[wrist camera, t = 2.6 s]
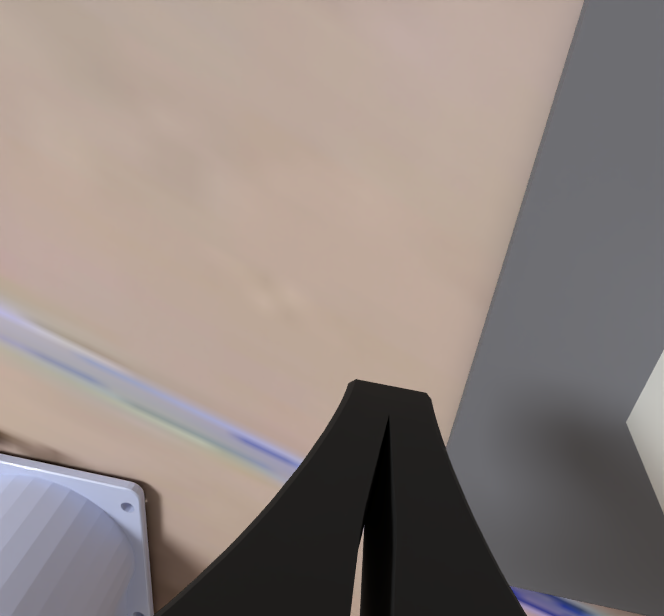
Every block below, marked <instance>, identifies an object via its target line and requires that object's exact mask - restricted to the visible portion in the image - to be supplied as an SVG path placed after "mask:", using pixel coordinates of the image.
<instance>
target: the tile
mask: <svg viewBox="0 0 664 616" xmlns="http://www.w3.org/2000/svg"><path fill="white" fill-rule="evenodd" d="M626 424H627V426H628V428H629V431H630V433H631V436H632V438H633V441H634V443H635V445H636V448H637V450H638V453H639V455H640V458H641V460H642V462H643V465H644V467H645V470H646V472H647V475H648V477H649V479H650V482H651V484H652V487H653V489H654V492H655V494H656V496H657V499H658V501H659V504H660V506H661V508H662V511H663V513H664V350H663V352H662V354H661V356H660V358H659V360H658V362H657V364H656V366H655V368H654V370H653V371H652V373H651V375H650V377H649V379H648V381H647V383H646V385H645V387H644V389H643V391H642V393H641V394H640V396H639V398H638V400H637V402H636V404H635V406H634V408H633V410H632V412H631V414H630V416H629V417H628V419H627V421H626Z"/></svg>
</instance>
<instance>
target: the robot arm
mask: <svg viewBox="0 0 664 616" xmlns="http://www.w3.org/2000/svg"><path fill="white" fill-rule="evenodd" d="M363 528H364V542H363V562H362V583H361V604H360V616H527V615H526V614H525V612H524V610H523V608H522V607H521V605H520V603H519V601H518V600H517V598H516V596H515V595H514V593H513V591H512V589H511V588H510V586H509V584H508V582H507V581H506V579H505V577H504V575H503V573H502V571H501V570H500V568H499V566H498V564H497V562H496V560H495V558H494V556H493V554H492V552H491V551H490V549H489V546H488V544H487V542H486V540H485V538H484V536H483V534H482V532H481V530H480V528H479V526H478V524H477V522H476V520H475V518H474V516H473V513H472V511H471V509H470V507H469V505H468V502H467V500H466V498H465V495H464V493H463V490H462V488H461V486H460V483H459V481H458V479H457V476H456V474H455V471H454V469H453V466H452V464H451V461H450V459H449V456H448V453H447V450H446V448H445V445H444V442H443V439H442V436H441V433H440V430H439V427H438V424H437V420H436V417H435V413H434V409H433V405H432V401H431V399H430V397H429V396H428V394H427V393H424V392H419V391H414V390H409V389H403V388H398V387H393V386H388V385H383V384H378V383H372V382H367V381H362V380H357V379H356V380H354V381H352V382H350V383H348V386H347V389H346V392H345V394H344V396H343V399H342V401H341V403H340V405H339V407H338V408H337V410H336V412H335V414H334V416H333V417H332V419H331V420H330V422H329V424H328V425H327V427H326V429H325V430H324V432H323V433H322V435H321V436H320V438H319V439H318V440H317V442H316V443H315V445H314V446H313V448H312V449H311V450H310V452H309V453H308V455H307V456H306V458H305V459H304V460H303V462H302V463H301V464H300V466H299V467H298V468H297V470H296V471H295V472H294V473H293V475H292V476H291V477H290V478H289V479H288V481H287V482H286V483H285V484H284V486H283V487H282V488H281V489H280V491H279V492H278V493H277V494H276V496H275V497H274V498H273V499H272V500H271V502H270V503H269V504H268V505H267V506H266V507H265V508H264V510H263V511H262V512H261V513H260V514H259V515H258V516H257V517H256V519H255V520H254V521H253V522H252V523H251V524H250V525H249V526H248V527H247V528H246V529H245V530H244V531H243V532H242V533H241V535H240V536H239V537H238V538H237V539H236V540H235V541H234V542H233V543H232V544H231V545H230V546H229V547H228V548H227V549H226V550H225V551H224V552H223V553H222V554H221V555H220V556H219V557H218V558H217V559H216V560H214V561H213V562H212V563H211V564H210V565H209V566H208V567H207V568H206V569H205V570H204V571H203V572H202V573H201V574H200V575H199V576H198V577H197V578H196V579H195V580H194V581H192V582H191V583H190V584H189V585H188V586H187V587H186V588H185V589H184V590H183V591H181V592H180V593H179V594H178V595H177V596H176V597H175V598H174V599H172V600H171V601H170V602H169V603H168V604H167V605H165V606H164V607H163V608H162V609H161V610H159V611H158V612H157V613H156V614H154V610H153V598H152V585H151V573H150V560H149V548H148V536H147V523H146V511H145V498H144V492H143V489H142V488H141V487H140V486H139V485H138V484H136V483H134V482H131V481H126V480H122V479H117V478H113V477H108V476H103V475H99V474H94V473H89V472H85V471H80V470H75V469H71V468H66V467H61V466H57V465H52V464H47V463H43V462H38V461H33V460H29V459H24V458H19V457H15V456H10V455H5V454H1V453H0V616H350V612H351V604H352V595H353V587H354V579H355V571H356V563H357V555H358V549H359V545H360V540H361V536H362V532H363Z"/></svg>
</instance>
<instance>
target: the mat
mask: <svg viewBox="0 0 664 616" xmlns="http://www.w3.org/2000/svg"><path fill="white" fill-rule="evenodd" d="M663 350H664V0H585V1H584V4H583V7H582V10H581V14H580V17H579V20H578V23H577V27H576V30H575V33H574V36H573V39H572V43H571V46H570V49H569V52H568V56H567V59H566V62H565V65H564V69H563V72H562V75H561V78H560V81H559V85H558V88H557V91H556V94H555V98H554V101H553V104H552V107H551V111H550V114H549V117H548V120H547V123H546V127H545V130H544V133H543V136H542V140H541V143H540V146H539V149H538V153H537V156H536V159H535V162H534V166H533V169H532V172H531V175H530V178H529V182H528V185H527V188H526V191H525V195H524V198H523V201H522V204H521V208H520V211H519V214H518V217H517V220H516V224H515V227H514V230H513V233H512V237H511V240H510V243H509V246H508V250H507V253H506V256H505V259H504V262H503V266H502V269H501V272H500V275H499V279H498V282H497V285H496V288H495V292H494V295H493V298H492V301H491V305H490V308H489V311H488V314H487V317H486V321H485V324H484V327H483V330H482V334H481V337H480V340H479V343H478V347H477V350H476V353H475V356H474V359H473V363H472V366H471V369H470V372H469V376H468V379H467V382H466V385H465V389H464V392H463V395H462V398H461V401H460V405H459V408H458V411H457V414H456V418H455V421H454V424H453V427H452V431H451V434H450V437H449V440H448V444H447V447H446V450H447V453H448V456H449V459H450V461H451V464H452V466H453V469H454V471H455V474H456V476H457V479H458V481H459V483H460V486H461V488H462V490H463V493H464V495H465V498H466V500H467V502H468V505H469V507H470V509H471V511H472V513H473V516H474V518H475V520H476V522H477V524H478V526H479V528H480V530H481V532H482V534H483V536H484V538H485V540H486V542H487V544H488V546H489V549H490V551H491V552H492V554H493V556H494V558H495V560H496V562H497V564H498V566H499V568H500V570H501V571H502V573H503V575H504V577H505V579H506V581H507V582H508V584H509V586H513V587H517V588H522V589H527V590H531V591H536V592H540V593H545V594H550V595H554V596H559V597H563V598H568V599H573V600H577V601H582V602H586V603H591V604H596V605H600V606H605V607H609V608H614V609H619V610H623V611H628V612H632V613H637V614H642V615H646V616H664V513H663V511H662V508H661V506H660V504H659V501H658V499H657V496H656V494H655V492H654V489H653V487H652V484H651V482H650V479H649V477H648V475H647V472H646V470H645V467H644V465H643V462H642V460H641V458H640V455H639V453H638V450H637V448H636V445H635V443H634V441H633V438H632V436H631V433H630V431H629V428H628V426H627V424H626V421H627V419H628V417H629V416H630V414H631V412H632V410H633V408H634V406H635V404H636V402H637V400H638V398H639V396H640V394H641V393H642V391H643V389H644V387H645V385H646V383H647V381H648V379H649V377H650V375H651V373H652V371H653V370H654V368H655V366H656V364H657V362H658V360H659V358H660V356H661V354H662V352H663Z"/></svg>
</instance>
